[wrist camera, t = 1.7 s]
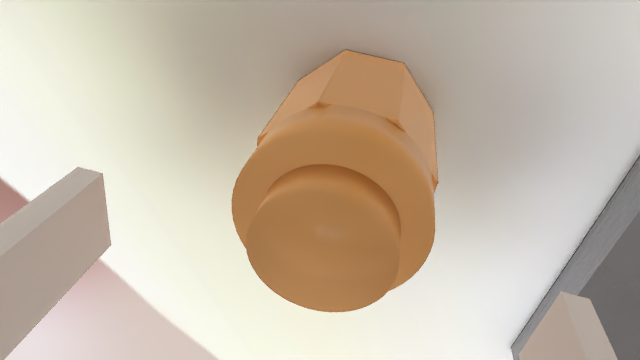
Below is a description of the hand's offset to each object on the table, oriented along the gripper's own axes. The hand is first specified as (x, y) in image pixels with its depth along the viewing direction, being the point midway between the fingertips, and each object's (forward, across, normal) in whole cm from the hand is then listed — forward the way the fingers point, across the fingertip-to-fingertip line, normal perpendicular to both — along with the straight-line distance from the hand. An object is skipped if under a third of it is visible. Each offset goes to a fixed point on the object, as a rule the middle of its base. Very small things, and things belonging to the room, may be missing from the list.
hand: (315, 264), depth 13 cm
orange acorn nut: (+9, 0, 0) cm, 9 cm away
